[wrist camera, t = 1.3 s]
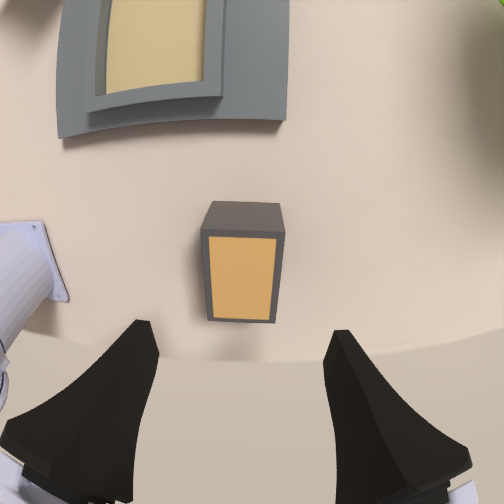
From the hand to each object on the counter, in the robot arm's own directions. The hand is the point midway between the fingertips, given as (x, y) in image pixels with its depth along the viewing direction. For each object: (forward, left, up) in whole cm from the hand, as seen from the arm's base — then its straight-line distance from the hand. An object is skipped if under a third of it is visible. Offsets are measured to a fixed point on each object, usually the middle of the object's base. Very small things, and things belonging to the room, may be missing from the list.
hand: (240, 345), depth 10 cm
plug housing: (0, 0, -9) cm, 9 cm away
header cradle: (-5, +14, -8) cm, 17 cm away
